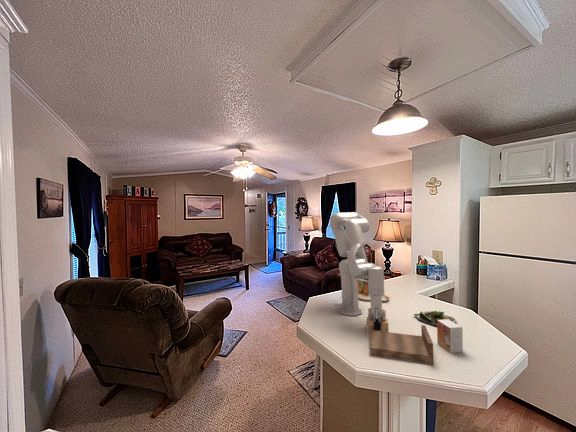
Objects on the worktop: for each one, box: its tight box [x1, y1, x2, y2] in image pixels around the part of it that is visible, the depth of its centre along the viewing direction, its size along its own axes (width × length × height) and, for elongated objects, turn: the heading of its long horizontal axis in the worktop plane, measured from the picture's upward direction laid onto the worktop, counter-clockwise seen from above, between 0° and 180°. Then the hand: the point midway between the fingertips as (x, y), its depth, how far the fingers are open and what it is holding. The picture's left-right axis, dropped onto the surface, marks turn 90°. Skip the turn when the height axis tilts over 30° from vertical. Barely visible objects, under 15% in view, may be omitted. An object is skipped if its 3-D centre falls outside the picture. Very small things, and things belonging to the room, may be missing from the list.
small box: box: [436, 319, 464, 354], centre depth 105 cm, size 8×6×10 cm
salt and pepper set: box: [366, 307, 389, 332], centre depth 123 cm, size 10×5×10 cm, turn 70°
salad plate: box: [413, 310, 457, 328], centre depth 133 cm, size 19×18×5 cm
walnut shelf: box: [369, 324, 435, 365], centre depth 105 cm, size 23×16×8 cm
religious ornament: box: [356, 278, 391, 302], centre depth 169 cm, size 25×20×12 cm
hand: (377, 326), depth 123 cm, fingers closed on salt and pepper set, 5 cm apart
